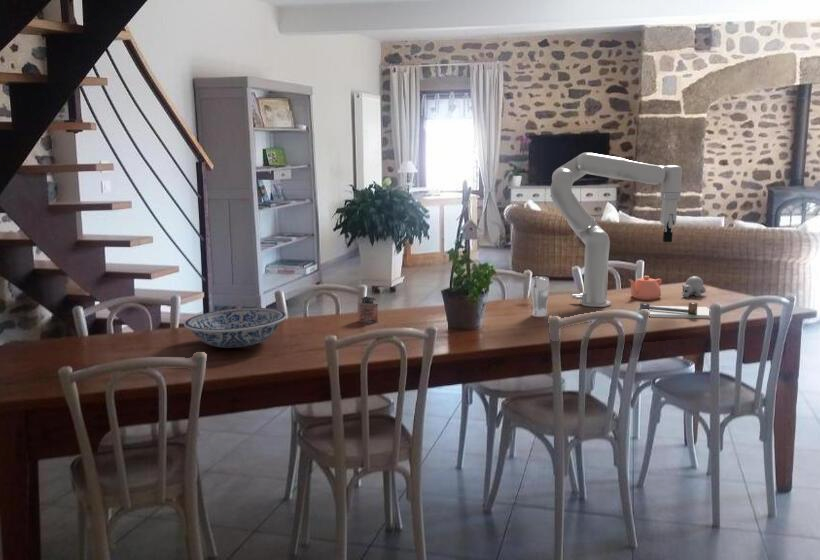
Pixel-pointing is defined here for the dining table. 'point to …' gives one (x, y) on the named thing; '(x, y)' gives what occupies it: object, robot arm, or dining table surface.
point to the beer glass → (540, 296)
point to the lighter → (368, 310)
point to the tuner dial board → (701, 312)
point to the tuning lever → (691, 308)
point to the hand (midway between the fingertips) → (667, 241)
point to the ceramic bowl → (236, 326)
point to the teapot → (646, 288)
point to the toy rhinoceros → (693, 287)
